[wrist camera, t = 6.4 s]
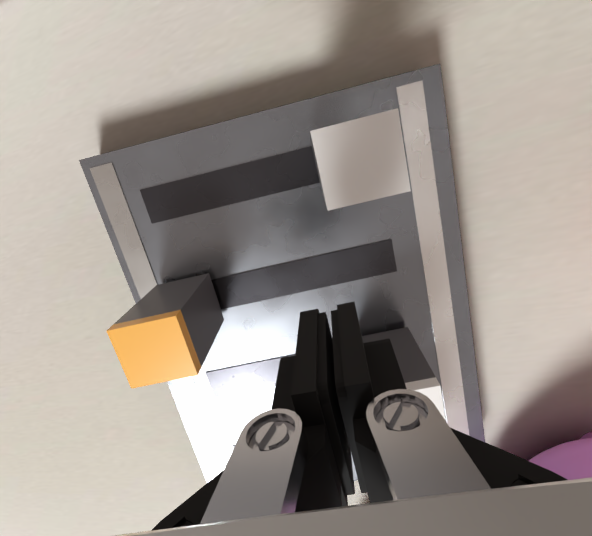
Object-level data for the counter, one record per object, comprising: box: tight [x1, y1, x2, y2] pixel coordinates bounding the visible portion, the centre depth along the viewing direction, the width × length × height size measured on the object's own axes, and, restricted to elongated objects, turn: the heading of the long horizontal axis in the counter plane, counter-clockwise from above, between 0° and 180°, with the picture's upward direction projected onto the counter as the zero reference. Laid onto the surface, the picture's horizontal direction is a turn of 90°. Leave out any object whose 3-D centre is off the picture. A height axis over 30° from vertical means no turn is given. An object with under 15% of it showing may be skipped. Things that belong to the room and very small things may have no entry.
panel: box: [79, 64, 485, 483], centre depth 23 cm, size 18×23×2 cm
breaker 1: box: [309, 108, 411, 211], centre depth 16 cm, size 3×3×5 cm
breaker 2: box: [362, 327, 446, 421], centre depth 19 cm, size 3×3×5 cm
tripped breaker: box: [107, 273, 224, 388], centre depth 18 cm, size 3×3×5 cm
